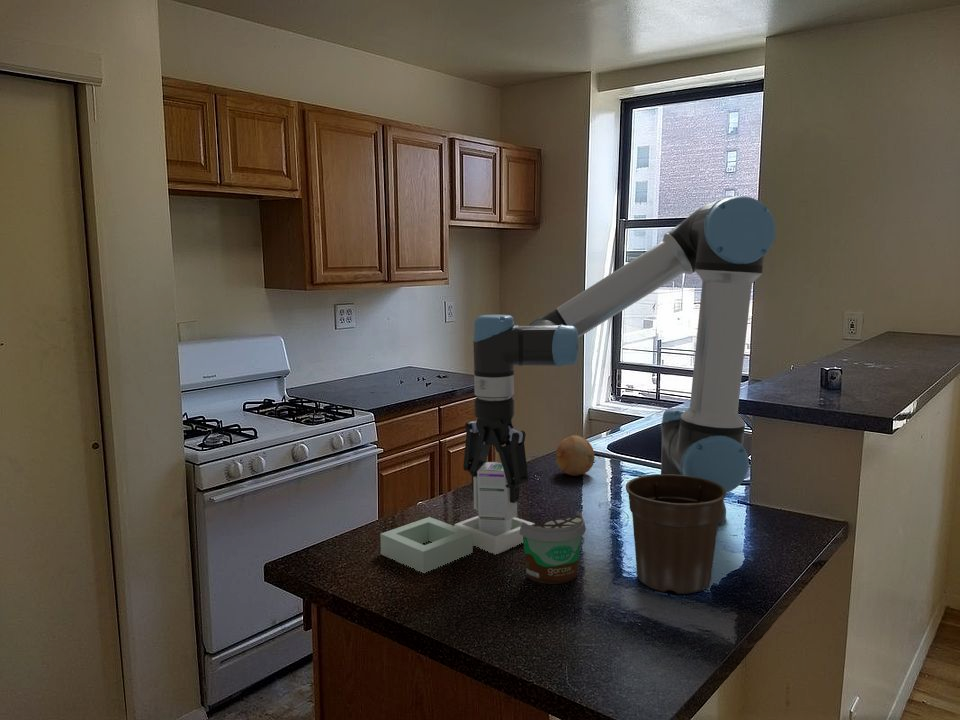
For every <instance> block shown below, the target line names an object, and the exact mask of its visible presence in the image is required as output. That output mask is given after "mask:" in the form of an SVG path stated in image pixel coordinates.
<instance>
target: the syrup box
mask: <svg viewBox="0 0 960 720" xmlns="http://www.w3.org/2000/svg"><path fill="white" fill-rule="evenodd" d="M477 480H478V510H477V516H478V523H479V531H482V532H485V533H488V534H490V535H493V536H498V535H500V534H503V533H505V532H508V531H510V530H512V519H509V520H506V519H505V498H504V486H505V485H507V484H508V483H507V480H506V476H505V473H504V469H503V466H502V462H501V461H500V462H499V461H486V462H484V463H483V465H482V466H481V467H480V468H479V470H478V471H477Z"/></svg>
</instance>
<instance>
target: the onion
mask: <svg viewBox="0 0 960 720" xmlns="http://www.w3.org/2000/svg"><path fill="white" fill-rule="evenodd" d="M555 461H556V464H557V467H558V468H559V469H560V471H562V472H563V473H565V474H566V475H569V476H573V477H577V476H580V475H581V476H582V475H584V474H586V473H588V472H589V471H590V470H591V469H592V467H593V466H594V463H595V452H594V448H593V446H592V444H591V443H590V442H589V440H587V439H586V438H585V437H582V436H580V435H577V434H576V435H575V434H574V435H570V436H568V437H566V438H565V439H562V440H561V441H560V443H559V444H558V446H557V448H556V449H555Z"/></svg>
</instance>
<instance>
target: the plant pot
mask: <svg viewBox="0 0 960 720" xmlns="http://www.w3.org/2000/svg"><path fill="white" fill-rule="evenodd" d="M625 490H626V493H627V494H628V502H629V511H630V512H631V515H632V516H631V517H632V526H633V527H632V529H633V539H634V540H633V541H634V550H635V551H634V553H635V562H636V563H635V564H636V566H635V567H636V576H637V579H638V580H639V582H640V583H642V584H643V585H645V586H646V587H649V588H650V589H652V590H656V591H659V592H662V593H666V592H667V591H673V592H674V593H676V594H678V595H680V594H683V595H684V594H685V595H687V594H694V593H699V592H701V591H703V590H706V589H707V588H708V587H709V586H711V581H712V574H713V568H714V567H713V565H714V558H715V550H716V549H715V548H716V541H717V534H718V533H717V532H718V527H719V526H718V519H719V518H720V516H721V510H722V503H723V500H725V498H726V497H727V493H726V490H725V488H724V487H722V486H721V485H719V484H717V483H715V482H712V481H710V480H707V479H703V478H699V477H693V476H686V475H674V474H661V473H660V474H657V473H656V474H647V475H642V476H639V477H635V478H632V479H630V480H629V481H627V482H626V483H625Z"/></svg>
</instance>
